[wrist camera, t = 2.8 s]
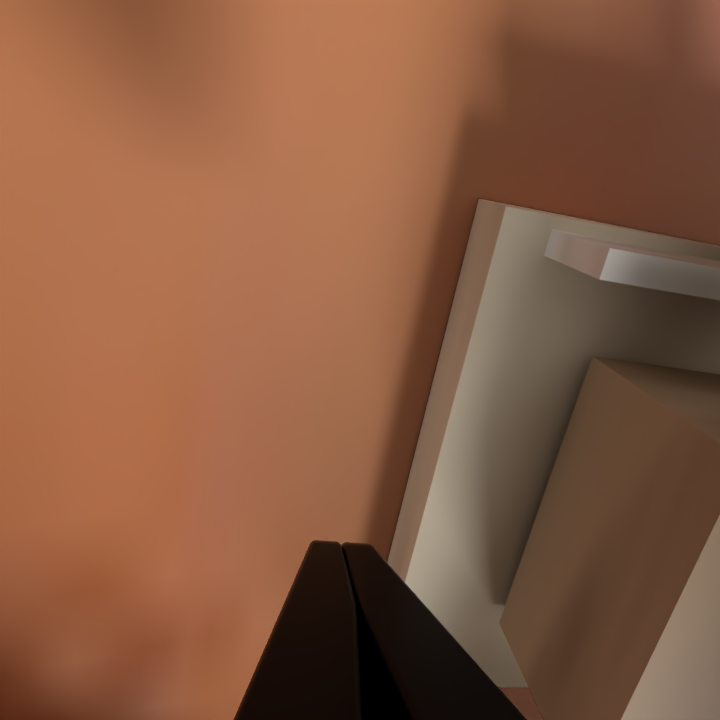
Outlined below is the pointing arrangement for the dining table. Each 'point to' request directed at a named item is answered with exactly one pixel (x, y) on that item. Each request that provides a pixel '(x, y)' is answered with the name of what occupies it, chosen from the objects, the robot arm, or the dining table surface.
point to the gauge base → (532, 393)
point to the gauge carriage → (626, 554)
